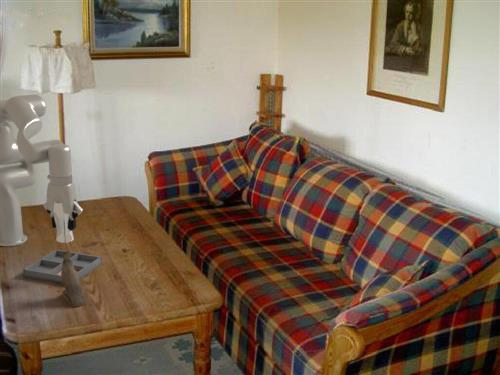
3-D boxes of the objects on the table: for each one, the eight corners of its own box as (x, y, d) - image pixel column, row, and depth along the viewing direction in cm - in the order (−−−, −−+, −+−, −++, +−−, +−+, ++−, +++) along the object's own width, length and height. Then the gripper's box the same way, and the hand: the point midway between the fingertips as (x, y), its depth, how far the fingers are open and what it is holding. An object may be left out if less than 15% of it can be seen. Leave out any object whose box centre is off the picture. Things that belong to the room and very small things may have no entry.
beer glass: (69, 244, 226) (67, 204, 221) (51, 242, 227) (48, 202, 223) (78, 237, 232) (76, 198, 228) (60, 235, 233) (58, 196, 229)
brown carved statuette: (62, 301, 221) (54, 250, 219) (77, 297, 224) (70, 247, 222) (72, 308, 211) (64, 255, 209) (88, 304, 214) (80, 252, 211)
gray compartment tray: (23, 276, 233) (23, 269, 233) (56, 256, 252) (56, 249, 251) (71, 285, 227) (71, 277, 226) (101, 264, 246) (101, 256, 245)
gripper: (33, 179, 222) (37, 228, 227) (76, 185, 217) (79, 235, 222) (46, 174, 229) (49, 221, 234) (88, 179, 224) (91, 228, 229)
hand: (64, 227), depth 228 cm, fingers closed on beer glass, 6 cm apart
